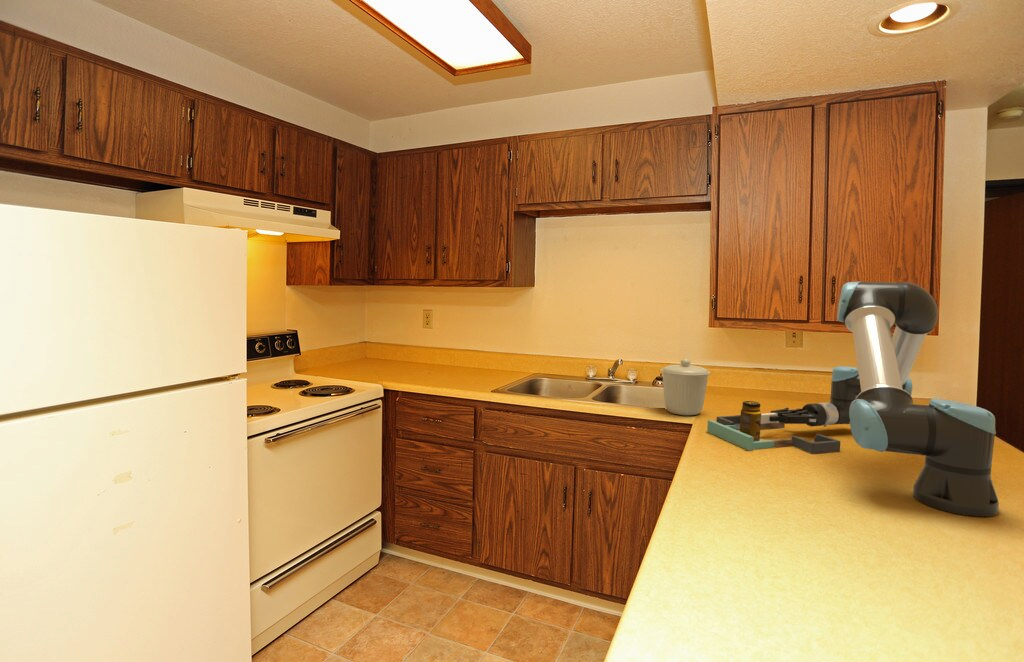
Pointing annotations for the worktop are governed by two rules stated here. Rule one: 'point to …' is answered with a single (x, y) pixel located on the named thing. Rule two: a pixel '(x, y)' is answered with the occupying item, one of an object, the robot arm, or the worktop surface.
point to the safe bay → (736, 436)
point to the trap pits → (793, 438)
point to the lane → (781, 441)
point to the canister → (684, 388)
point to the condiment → (751, 419)
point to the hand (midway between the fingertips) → (759, 418)
